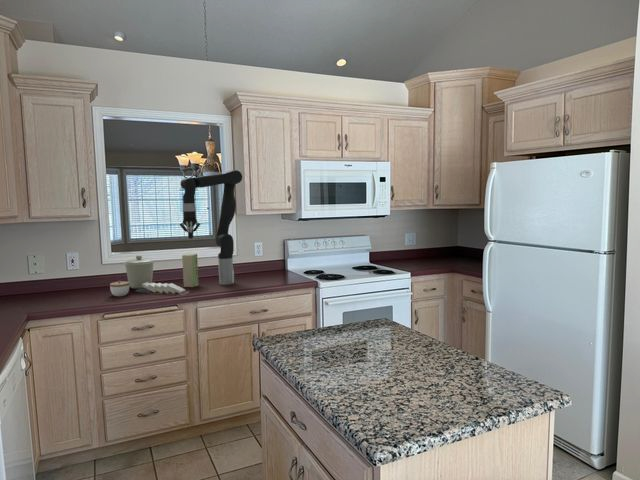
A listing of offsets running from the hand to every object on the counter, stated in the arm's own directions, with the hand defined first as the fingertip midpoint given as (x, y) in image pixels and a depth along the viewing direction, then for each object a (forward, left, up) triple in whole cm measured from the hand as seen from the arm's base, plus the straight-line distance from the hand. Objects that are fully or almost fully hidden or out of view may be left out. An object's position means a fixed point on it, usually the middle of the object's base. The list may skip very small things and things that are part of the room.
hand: (190, 238), depth 280 cm
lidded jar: (+39, +16, -32) cm, 53 cm away
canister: (+36, -7, -32) cm, 49 cm away
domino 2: (+19, +10, -31) cm, 37 cm away
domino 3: (+14, +11, -31) cm, 36 cm away
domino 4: (+10, +12, -31) cm, 35 cm away
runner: (+11, +12, -32) cm, 36 cm away
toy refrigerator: (+3, -7, -32) cm, 33 cm away
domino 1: (+23, +9, -31) cm, 39 cm away
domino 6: (+2, +15, -31) cm, 34 cm away
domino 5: (+6, +13, -31) cm, 34 cm away
